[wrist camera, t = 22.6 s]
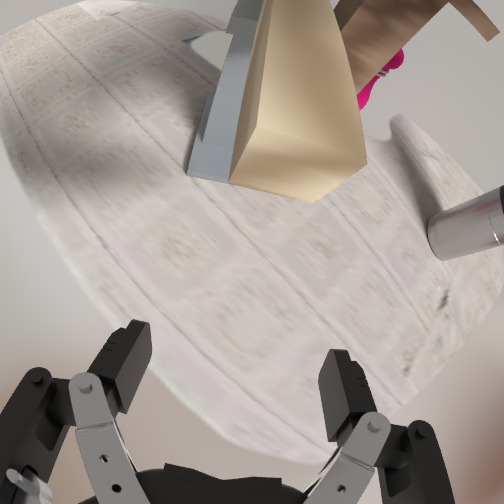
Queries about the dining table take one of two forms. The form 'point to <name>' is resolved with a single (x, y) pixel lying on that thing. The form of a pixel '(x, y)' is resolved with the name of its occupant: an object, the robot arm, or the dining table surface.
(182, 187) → the dining table surface
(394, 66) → the pepper mill
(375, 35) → the tall stand
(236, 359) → the dining table surface
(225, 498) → the robot arm
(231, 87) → the low stand
